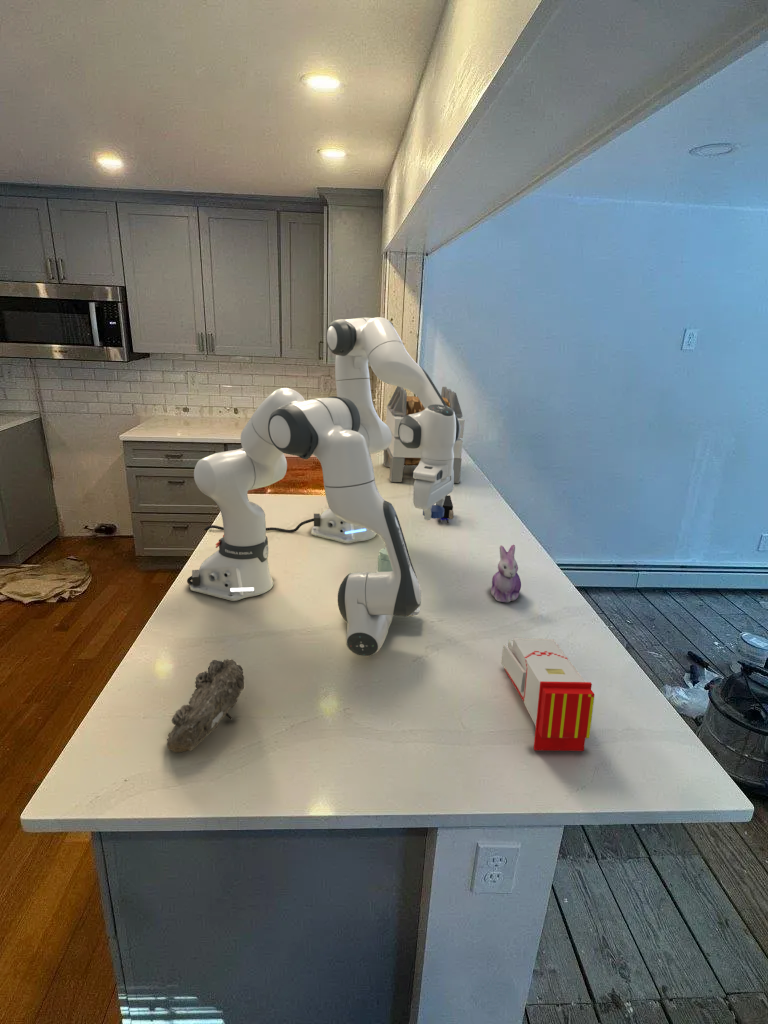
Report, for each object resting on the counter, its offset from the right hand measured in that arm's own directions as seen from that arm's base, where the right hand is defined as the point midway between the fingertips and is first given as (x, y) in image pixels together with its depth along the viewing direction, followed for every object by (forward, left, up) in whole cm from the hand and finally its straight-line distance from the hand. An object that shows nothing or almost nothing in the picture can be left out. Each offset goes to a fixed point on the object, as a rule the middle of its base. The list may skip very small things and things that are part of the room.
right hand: (433, 515), depth 156 cm
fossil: (-28, -69, -22) cm, 77 cm away
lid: (0, 0, +2) cm, 2 cm away
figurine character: (-6, +56, -22) cm, 61 cm away
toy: (+32, -44, -22) cm, 58 cm away
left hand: (-9, -14, -16) cm, 23 cm away
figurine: (+22, +1, -22) cm, 31 cm away
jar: (-9, -15, -21) cm, 27 cm away
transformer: (-28, +115, -22) cm, 120 cm away
